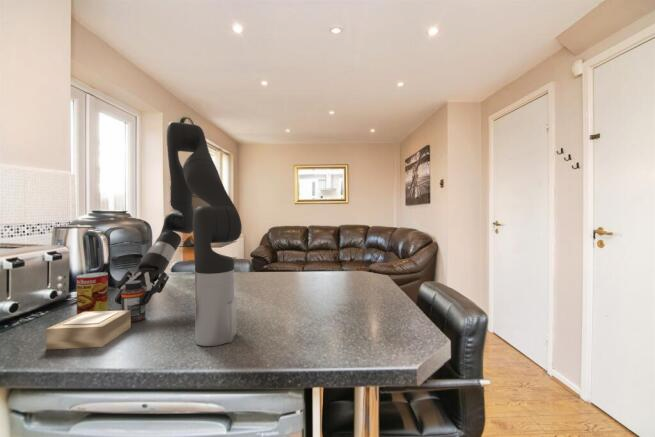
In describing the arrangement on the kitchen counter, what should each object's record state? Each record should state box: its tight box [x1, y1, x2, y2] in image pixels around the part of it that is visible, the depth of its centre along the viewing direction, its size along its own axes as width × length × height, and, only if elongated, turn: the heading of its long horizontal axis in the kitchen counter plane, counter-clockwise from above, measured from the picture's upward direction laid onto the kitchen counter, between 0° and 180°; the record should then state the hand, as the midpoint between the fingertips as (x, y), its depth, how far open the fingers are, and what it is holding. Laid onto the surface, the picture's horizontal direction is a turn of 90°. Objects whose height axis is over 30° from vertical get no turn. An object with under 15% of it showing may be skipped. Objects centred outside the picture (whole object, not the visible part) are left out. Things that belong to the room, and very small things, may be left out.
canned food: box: [76, 272, 109, 315], centre depth 94 cm, size 8×8×12 cm
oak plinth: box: [45, 309, 132, 350], centre depth 74 cm, size 12×12×5 cm
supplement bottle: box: [121, 281, 146, 323], centre depth 87 cm, size 6×6×11 cm
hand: (129, 303), depth 86 cm, fingers open, 7 cm apart
